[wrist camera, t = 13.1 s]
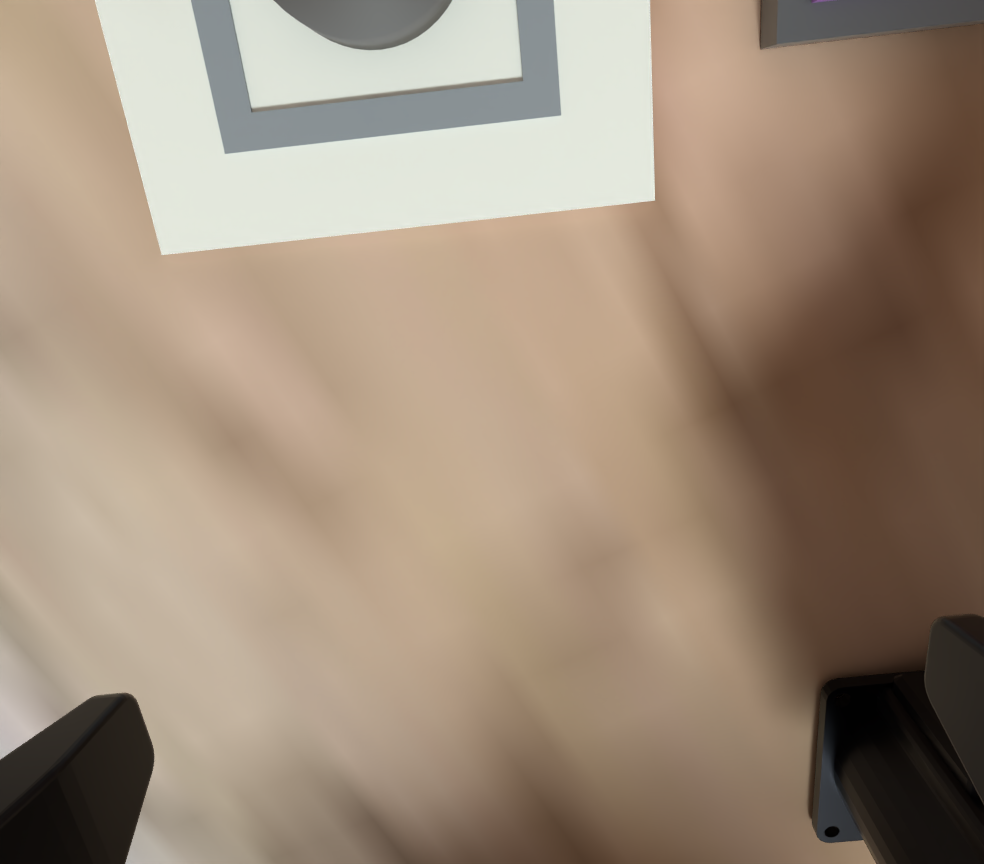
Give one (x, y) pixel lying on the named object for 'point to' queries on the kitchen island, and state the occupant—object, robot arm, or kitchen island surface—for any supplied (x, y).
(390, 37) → the stamp
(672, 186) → the kitchen island surface
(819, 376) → the kitchen island surface
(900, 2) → the ink pad
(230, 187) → the sheet
